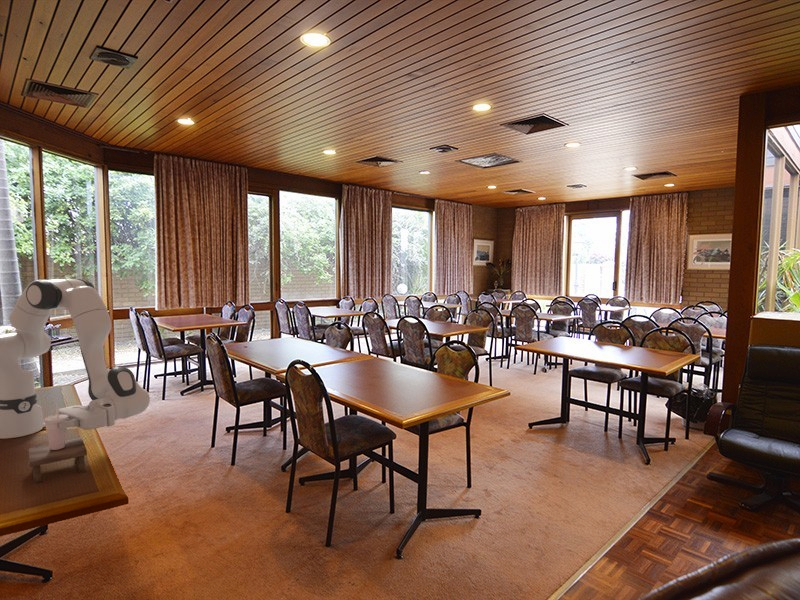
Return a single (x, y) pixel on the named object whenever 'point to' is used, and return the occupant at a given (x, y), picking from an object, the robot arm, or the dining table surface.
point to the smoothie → (56, 430)
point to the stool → (57, 456)
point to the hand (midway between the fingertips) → (52, 424)
